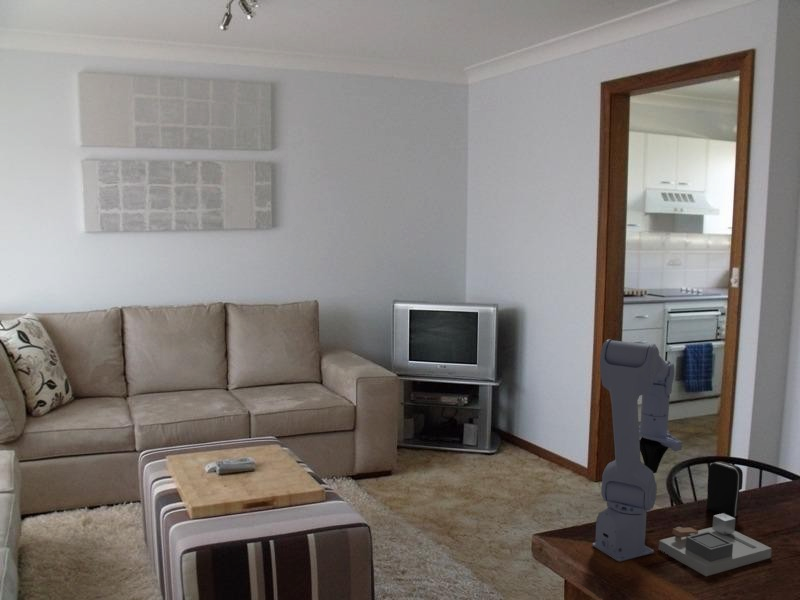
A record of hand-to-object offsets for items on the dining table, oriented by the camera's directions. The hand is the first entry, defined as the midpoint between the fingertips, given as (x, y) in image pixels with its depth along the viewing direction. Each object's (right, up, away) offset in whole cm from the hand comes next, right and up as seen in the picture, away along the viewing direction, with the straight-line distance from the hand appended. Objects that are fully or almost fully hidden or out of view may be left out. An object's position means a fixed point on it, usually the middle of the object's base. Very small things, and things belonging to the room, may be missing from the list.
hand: (651, 472), depth 166 cm
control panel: (+7, -13, -16) cm, 22 cm away
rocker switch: (+2, -9, -15) cm, 17 cm away
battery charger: (+18, -10, +5) cm, 21 cm away
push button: (+5, -11, -20) cm, 23 cm away
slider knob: (+11, -10, -11) cm, 18 cm away
